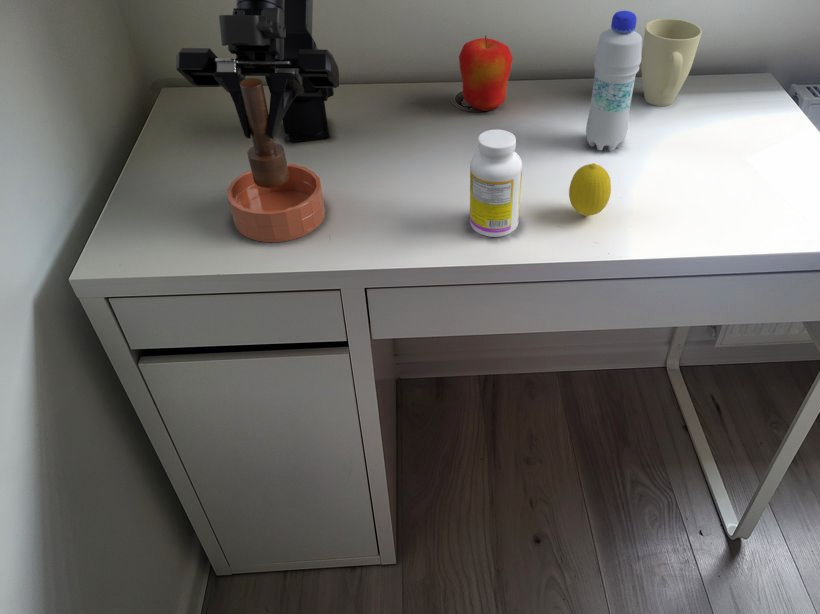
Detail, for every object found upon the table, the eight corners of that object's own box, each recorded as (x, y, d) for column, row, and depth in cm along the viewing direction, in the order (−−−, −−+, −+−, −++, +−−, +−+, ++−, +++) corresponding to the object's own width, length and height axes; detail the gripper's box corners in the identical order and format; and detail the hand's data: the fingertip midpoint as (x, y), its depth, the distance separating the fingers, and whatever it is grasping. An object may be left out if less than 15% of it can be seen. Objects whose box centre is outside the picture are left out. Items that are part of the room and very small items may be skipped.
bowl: (320, 186, 103) (315, 158, 100) (329, 235, 94) (325, 206, 91) (233, 197, 101) (226, 169, 97) (235, 248, 92) (227, 219, 89)
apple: (454, 114, 119) (453, 42, 110) (465, 92, 125) (466, 22, 116) (504, 120, 117) (507, 48, 109) (513, 97, 123) (517, 27, 115)
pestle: (247, 177, 94) (224, 81, 84) (277, 165, 96) (258, 70, 86) (264, 192, 91) (242, 95, 82) (295, 179, 93) (277, 83, 84)
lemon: (562, 205, 100) (569, 154, 94) (601, 203, 100) (610, 152, 94) (570, 228, 96) (576, 176, 90) (610, 226, 96) (619, 174, 91)
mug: (617, 98, 123) (629, 27, 115) (657, 83, 128) (671, 14, 119) (665, 123, 117) (681, 50, 109) (705, 106, 121) (723, 35, 113)
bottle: (630, 138, 113) (655, 7, 99) (618, 158, 109) (642, 24, 95) (590, 130, 115) (608, 0, 101) (577, 148, 111) (594, 15, 97)
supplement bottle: (490, 205, 100) (493, 119, 91) (528, 222, 97) (535, 136, 88) (459, 226, 96) (459, 139, 87) (498, 245, 93) (502, 157, 84)
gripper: (156, -24, 80) (155, 115, 80) (322, -22, 80) (320, 117, 80) (194, 22, 91) (193, 144, 91) (340, 23, 91) (339, 145, 91)
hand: (259, 137), depth 88 cm, fingers closed on pestle, 2 cm apart
